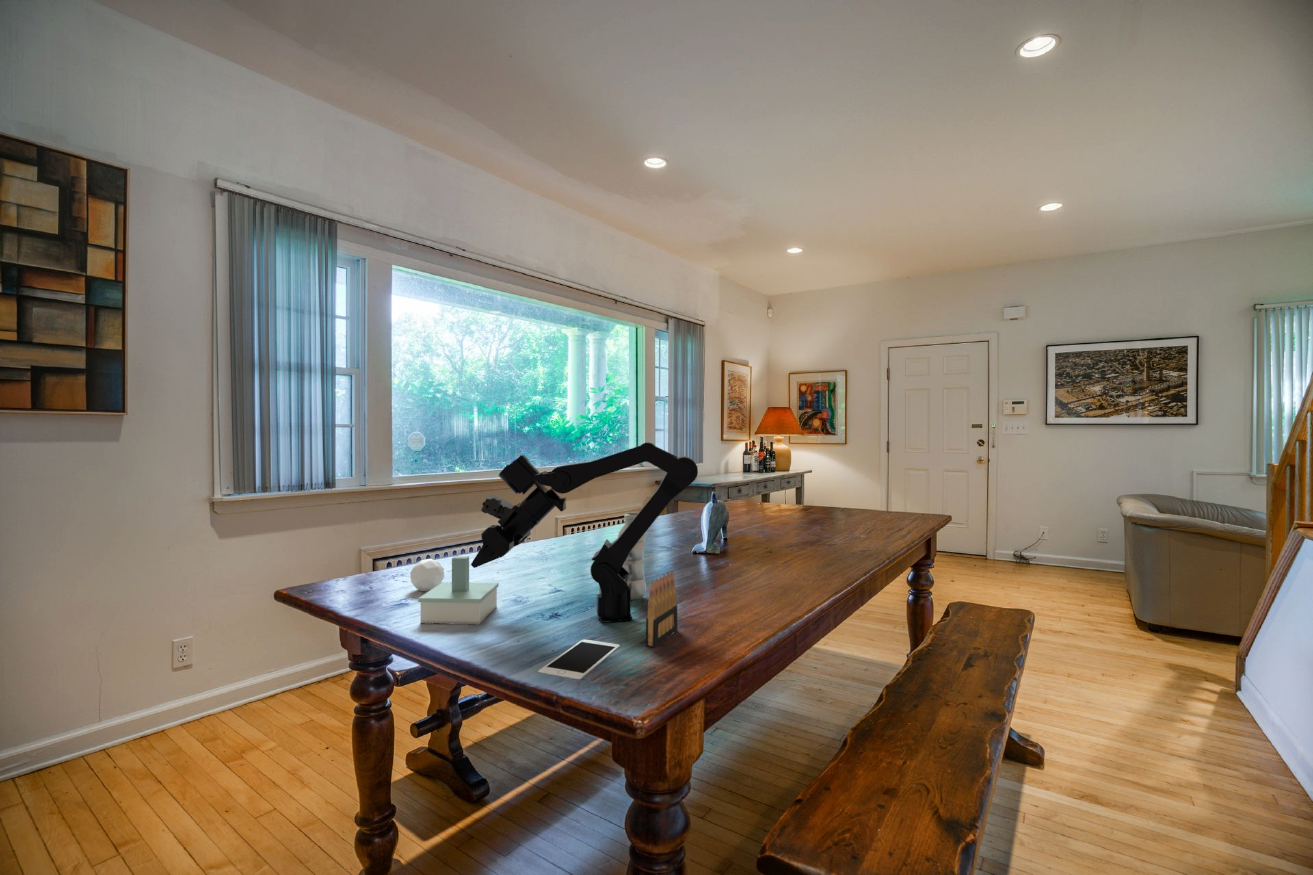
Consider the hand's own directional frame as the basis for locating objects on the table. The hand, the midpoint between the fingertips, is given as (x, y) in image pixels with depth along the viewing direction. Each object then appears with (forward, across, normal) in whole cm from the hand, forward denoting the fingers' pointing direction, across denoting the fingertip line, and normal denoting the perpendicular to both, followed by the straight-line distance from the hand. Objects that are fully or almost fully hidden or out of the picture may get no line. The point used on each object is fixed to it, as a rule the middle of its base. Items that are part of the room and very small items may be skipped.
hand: (479, 561), depth 125 cm
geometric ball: (+22, -19, -5) cm, 29 cm away
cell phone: (-9, +23, +26) cm, 36 cm away
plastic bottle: (-14, -14, +30) cm, 36 cm away
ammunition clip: (-20, +12, +36) cm, 42 cm away
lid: (+9, 0, +3) cm, 9 cm away
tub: (+11, 0, +5) cm, 12 cm away
